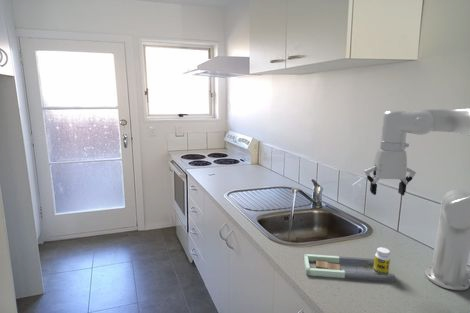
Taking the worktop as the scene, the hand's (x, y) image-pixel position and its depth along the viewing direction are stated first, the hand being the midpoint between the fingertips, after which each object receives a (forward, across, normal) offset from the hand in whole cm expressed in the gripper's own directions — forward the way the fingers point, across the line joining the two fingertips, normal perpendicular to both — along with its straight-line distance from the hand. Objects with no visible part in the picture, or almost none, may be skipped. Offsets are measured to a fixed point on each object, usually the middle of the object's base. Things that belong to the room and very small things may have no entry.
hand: (387, 193), depth 111 cm
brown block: (+27, +19, +8) cm, 34 cm away
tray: (+27, +22, +7) cm, 36 cm away
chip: (+27, +23, +6) cm, 36 cm away
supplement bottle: (+26, +3, +8) cm, 27 cm away
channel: (+27, +8, +8) cm, 29 cm away
